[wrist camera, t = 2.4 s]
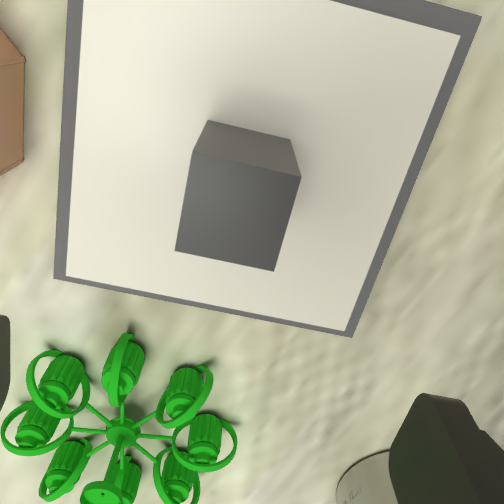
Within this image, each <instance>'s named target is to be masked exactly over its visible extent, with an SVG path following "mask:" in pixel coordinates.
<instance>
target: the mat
mask: <svg viewBox="0 0 504 504" xmlns="http://www.w3.org/2000/svg"><path fill="white" fill-rule="evenodd" d="M331 1H334V2H338V3H342V4H345V5H349V6H353V7H356V8H360V9H364V10H368V11H371V12H375V13H379V14H382V15H386V16H390V17H393V18H397V19H401V20H404V21H408V22H412V23H416V24H419V25H423V26H427V27H430V28H434V29H438V30H441V31H445V32H449V33H452V34H456V35H460V39H459V41H458V44H457V46H456V49H455V52H454V54H453V57H452V59H451V62H450V64H449V67H448V69H447V72H446V74H445V77H444V80H443V82H442V85H441V87H440V90H439V92H438V95H437V97H436V100H435V102H434V105H433V107H432V110H431V113H430V115H429V118H428V120H427V123H426V125H425V128H424V130H423V133H422V135H421V138H420V141H419V143H418V146H417V148H416V151H415V153H414V156H413V158H412V161H411V163H410V166H409V168H408V171H407V174H406V176H405V179H404V181H403V184H402V186H401V189H400V191H399V194H398V196H397V199H396V202H395V204H394V207H393V209H392V212H391V214H390V217H389V219H388V222H387V224H386V227H385V230H384V232H383V235H382V237H381V240H380V242H379V245H378V247H377V250H376V252H375V255H374V257H373V260H372V263H371V265H370V268H369V270H368V273H367V275H366V278H365V280H364V283H363V285H362V288H361V291H360V293H359V296H358V298H357V301H356V303H355V306H354V308H353V311H352V313H351V316H350V318H349V321H348V324H347V326H346V329H345V331H340V330H335V329H330V328H325V327H320V326H315V325H310V324H305V323H300V322H295V321H290V320H285V319H280V318H275V317H270V316H265V315H260V314H255V313H250V312H245V311H240V310H235V309H230V308H225V307H220V306H215V305H210V304H205V303H200V302H195V301H190V300H185V299H180V298H175V297H170V296H165V295H160V294H155V293H150V292H145V291H140V290H135V289H130V288H125V287H120V286H115V285H110V284H105V283H100V282H95V281H90V280H85V279H80V278H75V277H70V276H66V264H67V248H68V233H69V218H70V202H71V187H72V172H73V156H74V141H75V125H76V110H77V95H78V79H79V64H80V49H81V33H82V18H83V2H84V0H68V8H67V27H66V46H65V66H64V85H63V104H62V123H61V143H60V162H59V181H58V201H57V220H56V239H55V259H54V278H53V279H58V280H63V281H68V282H74V283H79V284H84V285H89V286H94V287H99V288H104V289H109V290H114V291H119V292H124V293H129V294H134V295H139V296H144V297H149V298H154V299H159V300H164V301H169V302H174V303H179V304H184V305H190V306H195V307H200V308H205V309H210V310H215V311H220V312H225V313H230V314H235V315H240V316H245V317H250V318H255V319H260V320H265V321H270V322H275V323H280V324H285V325H290V326H295V327H300V328H306V329H311V330H316V331H321V332H326V333H331V334H336V335H341V336H346V337H351V338H352V337H353V334H354V332H355V329H356V327H357V324H358V322H359V319H360V317H361V314H362V312H363V310H364V307H365V305H366V302H367V300H368V297H369V295H370V292H371V290H372V287H373V285H374V282H375V280H376V277H377V275H378V273H379V270H380V268H381V265H382V263H383V260H384V258H385V255H386V253H387V250H388V248H389V245H390V243H391V240H392V238H393V236H394V233H395V231H396V228H397V226H398V223H399V221H400V218H401V216H402V213H403V211H404V208H405V206H406V203H407V201H408V199H409V196H410V194H411V191H412V189H413V186H414V184H415V181H416V179H417V176H418V174H419V171H420V169H421V166H422V164H423V161H424V159H425V157H426V154H427V152H428V149H429V147H430V144H431V142H432V139H433V137H434V134H435V132H436V129H437V127H438V124H439V122H440V120H441V117H442V115H443V112H444V110H445V107H446V105H447V102H448V100H449V97H450V95H451V92H452V90H453V87H454V85H455V83H456V80H457V78H458V75H459V73H460V70H461V68H462V65H463V63H464V60H465V58H466V55H467V53H468V50H469V48H470V46H471V43H472V41H473V38H474V36H475V33H476V31H477V28H478V26H479V23H480V21H481V18H482V17H481V16H478V15H474V14H471V13H467V12H463V11H460V10H456V9H453V8H449V7H445V6H442V5H438V4H434V3H431V2H427V1H424V0H331Z"/></svg>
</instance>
